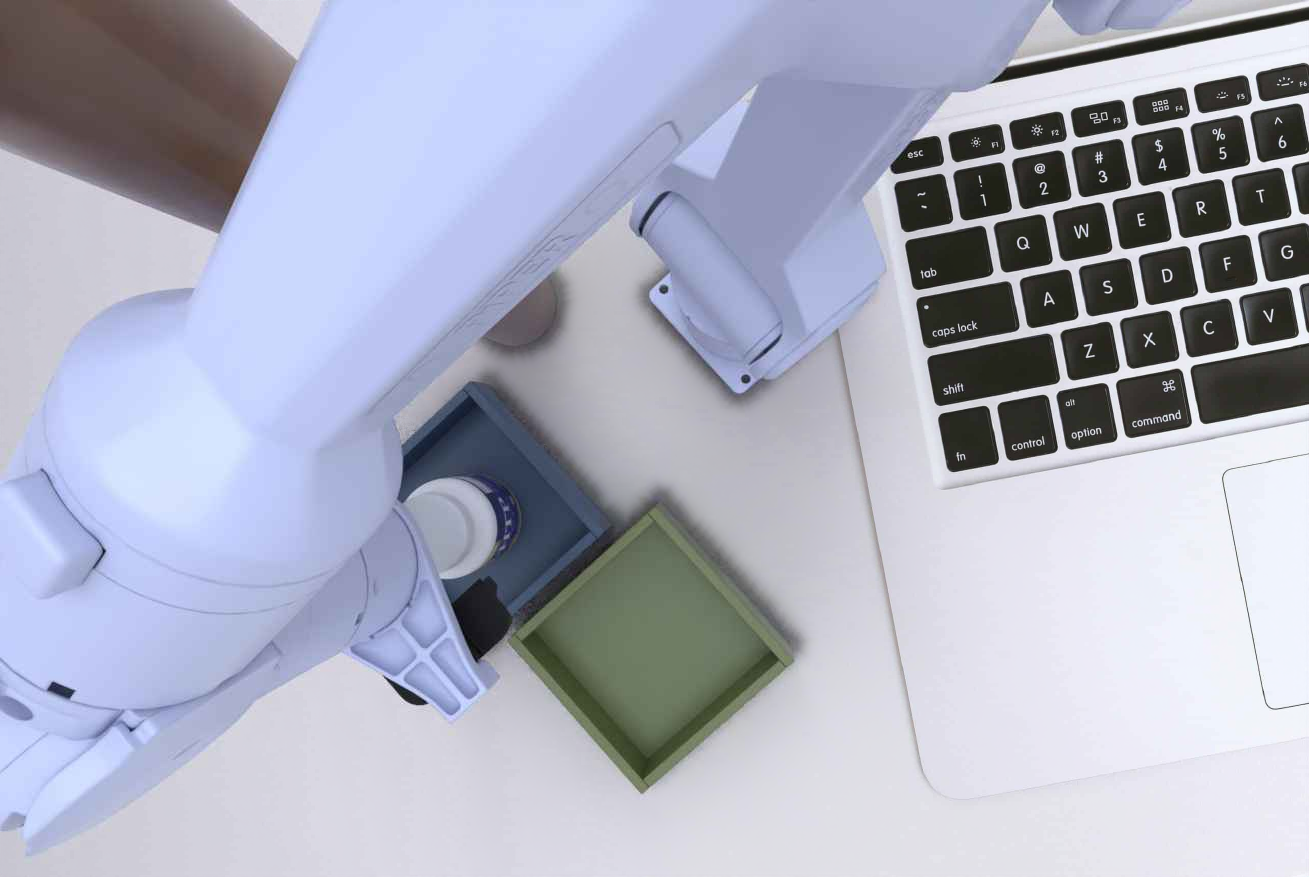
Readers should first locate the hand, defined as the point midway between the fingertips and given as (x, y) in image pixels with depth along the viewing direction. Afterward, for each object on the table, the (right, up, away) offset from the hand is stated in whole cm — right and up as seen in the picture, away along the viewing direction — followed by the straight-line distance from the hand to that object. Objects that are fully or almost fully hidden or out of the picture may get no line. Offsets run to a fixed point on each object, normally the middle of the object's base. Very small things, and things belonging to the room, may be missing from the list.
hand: (427, 535), depth 42 cm
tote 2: (+11, -7, +8) cm, 15 cm away
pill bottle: (+1, 0, +9) cm, 9 cm away
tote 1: (+1, 0, +9) cm, 9 cm away
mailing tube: (+3, +13, +9) cm, 16 cm away
